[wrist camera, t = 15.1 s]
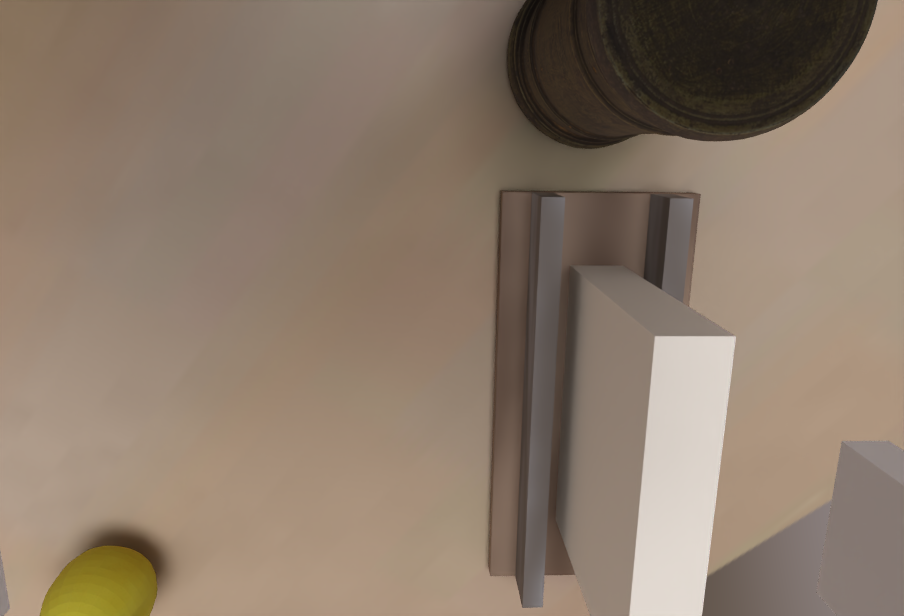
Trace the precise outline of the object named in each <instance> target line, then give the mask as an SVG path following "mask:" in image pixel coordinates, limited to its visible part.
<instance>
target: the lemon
mask: <svg viewBox="0 0 904 616" xmlns="http://www.w3.org/2000/svg"><path fill="white" fill-rule="evenodd" d="M156 595H157V581H156V573H155V571H154V569H153V567H152V565H151V563H150V561H149V560H148V559H147V558H145V557H144V556H143V555H142V554H141V553H139V552H137V551H135V550H133V549H130V548H126V547H121V546H107V545H106V546H101V547H96V548H92V549H89V550H87V551H86V552H84V553H82V554H81V555H79V556H78V557H76V558H75V559H73V560H72V561H71V562H70V563H69V564H68V565H67V566H66V567H65V568H64V569H63V570H62V572H61V573H60V574H59V576H58V577H57V578H56V580H55V581H54V582H53V584H52V585H51V587H50V588H49V590H48V592H47V594H46V596H45V599H44V601H43V605H42V608H41V612H40V616H149V615H150V613H151V611H152V608H153V605H154V602H155V599H156Z"/></svg>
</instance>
